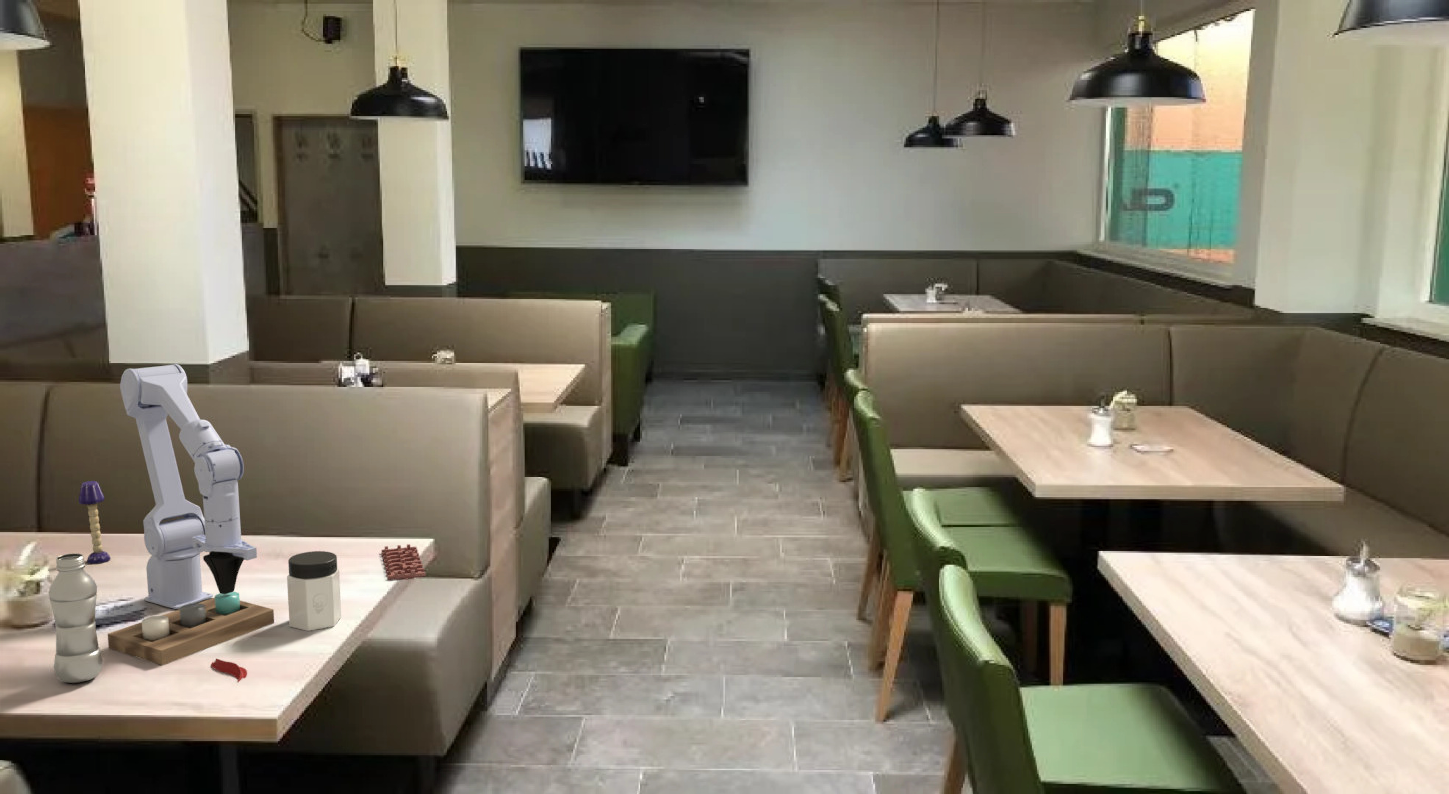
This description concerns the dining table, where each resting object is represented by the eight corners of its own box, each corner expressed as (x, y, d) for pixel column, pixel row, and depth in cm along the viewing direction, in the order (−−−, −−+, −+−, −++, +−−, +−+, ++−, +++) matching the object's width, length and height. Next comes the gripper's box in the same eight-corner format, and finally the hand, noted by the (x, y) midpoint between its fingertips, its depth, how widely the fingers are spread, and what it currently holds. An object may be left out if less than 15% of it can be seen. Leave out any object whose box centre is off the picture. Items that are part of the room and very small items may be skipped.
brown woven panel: (388, 583, 229) (388, 574, 228) (381, 555, 246) (381, 546, 246) (425, 580, 231) (425, 570, 231) (416, 552, 249) (416, 543, 248)
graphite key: (175, 624, 198) (174, 608, 198) (195, 617, 202) (194, 601, 201) (190, 628, 196) (189, 613, 196) (210, 621, 200) (209, 606, 199)
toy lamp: (93, 565, 235) (87, 486, 232) (78, 562, 237) (71, 483, 234) (115, 559, 239) (108, 481, 236) (100, 556, 241) (93, 478, 238)
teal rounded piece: (210, 611, 204) (209, 596, 204) (229, 605, 208) (229, 590, 207) (225, 616, 202) (224, 600, 202) (245, 609, 206) (244, 594, 205)
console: (108, 648, 193) (107, 633, 193) (221, 608, 212) (220, 595, 212) (162, 665, 187) (161, 650, 186) (274, 622, 206) (273, 609, 205)
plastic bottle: (67, 671, 184) (56, 550, 180) (111, 670, 184) (101, 550, 181) (47, 688, 177) (35, 563, 174) (93, 687, 178) (82, 563, 174)
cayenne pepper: (251, 683, 181) (250, 672, 181) (219, 690, 179) (218, 678, 179) (239, 656, 191) (238, 645, 191) (209, 662, 189) (208, 651, 189)
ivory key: (137, 637, 192) (136, 621, 192) (159, 629, 196) (158, 614, 195) (152, 642, 190) (151, 626, 190) (174, 634, 194) (173, 618, 193)
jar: (295, 634, 200) (292, 568, 198) (284, 620, 207) (280, 555, 205) (347, 624, 205) (344, 560, 203) (335, 610, 212) (332, 548, 210)
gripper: (174, 517, 202) (180, 591, 204) (230, 529, 195) (235, 606, 198) (209, 508, 208) (214, 580, 211) (265, 519, 201) (269, 594, 204)
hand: (226, 592), depth 204 cm, fingers closed
